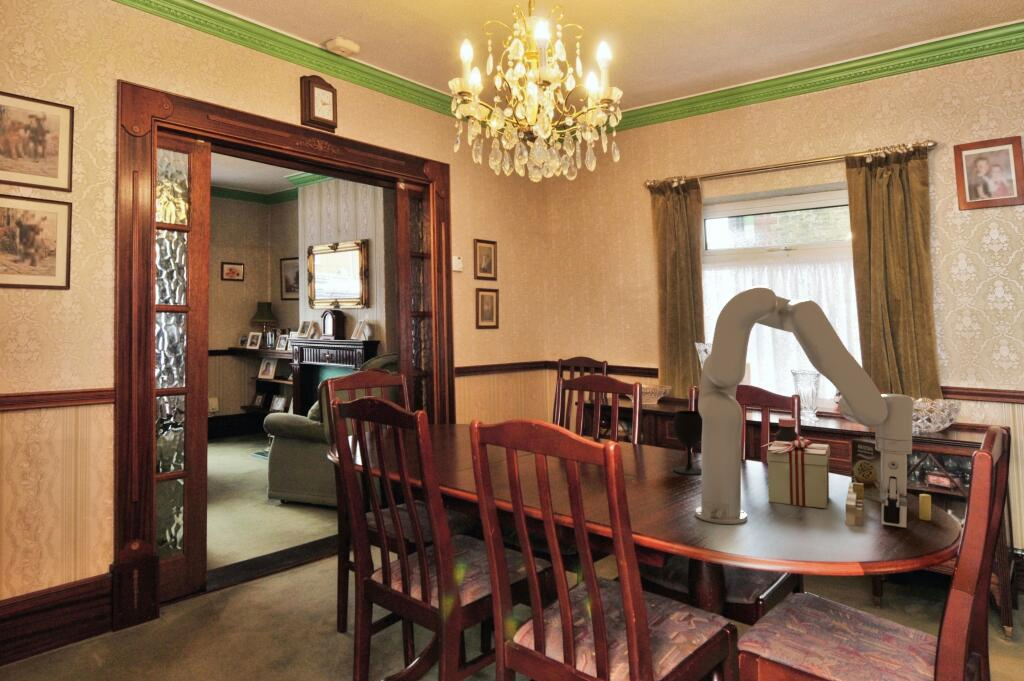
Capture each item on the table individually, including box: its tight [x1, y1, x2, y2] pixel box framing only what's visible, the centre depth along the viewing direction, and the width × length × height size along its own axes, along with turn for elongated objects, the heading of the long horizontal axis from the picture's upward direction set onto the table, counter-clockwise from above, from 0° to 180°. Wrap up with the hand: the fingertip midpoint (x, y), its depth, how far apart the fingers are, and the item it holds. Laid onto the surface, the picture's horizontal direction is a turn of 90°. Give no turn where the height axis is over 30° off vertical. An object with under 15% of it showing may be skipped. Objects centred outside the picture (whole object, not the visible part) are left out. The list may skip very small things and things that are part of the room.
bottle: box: [774, 417, 800, 442], centre depth 187 cm, size 7×7×20 cm
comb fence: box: [844, 482, 865, 527], centre depth 157 cm, size 24×4×7 cm, turn 148°
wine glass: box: [672, 410, 702, 476], centre depth 202 cm, size 10×10×20 cm
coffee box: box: [850, 437, 885, 503], centre depth 171 cm, size 9×6×16 cm
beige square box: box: [881, 495, 908, 528], centre depth 145 cm, size 4×5×6 cm
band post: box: [918, 493, 932, 521], centre depth 151 cm, size 2×2×6 cm
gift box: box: [760, 435, 831, 510], centre depth 169 cm, size 17×18×17 cm
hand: (891, 519), depth 146 cm, fingers closed on beige square box, 4 cm apart
